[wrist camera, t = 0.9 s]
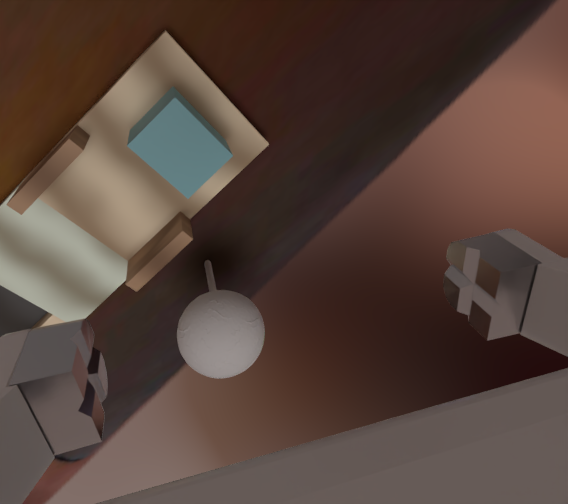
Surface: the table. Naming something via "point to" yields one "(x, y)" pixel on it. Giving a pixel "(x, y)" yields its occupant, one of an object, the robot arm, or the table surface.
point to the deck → (109, 198)
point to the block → (179, 143)
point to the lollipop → (220, 332)
